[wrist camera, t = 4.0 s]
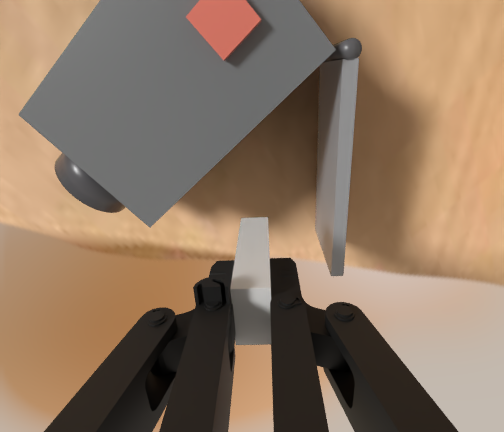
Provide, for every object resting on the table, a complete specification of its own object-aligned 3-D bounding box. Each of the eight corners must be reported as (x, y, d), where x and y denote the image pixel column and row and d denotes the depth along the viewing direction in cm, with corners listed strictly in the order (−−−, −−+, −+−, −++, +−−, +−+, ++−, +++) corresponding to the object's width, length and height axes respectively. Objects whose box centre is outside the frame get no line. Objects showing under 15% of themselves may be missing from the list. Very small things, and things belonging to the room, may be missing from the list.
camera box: (221, -60, 20) (194, -146, 12) (313, 58, 22) (340, 50, 15) (71, 127, 25) (-16, 152, 17) (160, 206, 28) (119, 259, 20)
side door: (318, 48, 22) (341, 38, 16) (340, 47, 22) (373, 36, 16) (314, 229, 28) (329, 276, 21) (331, 228, 28) (352, 275, 21)
